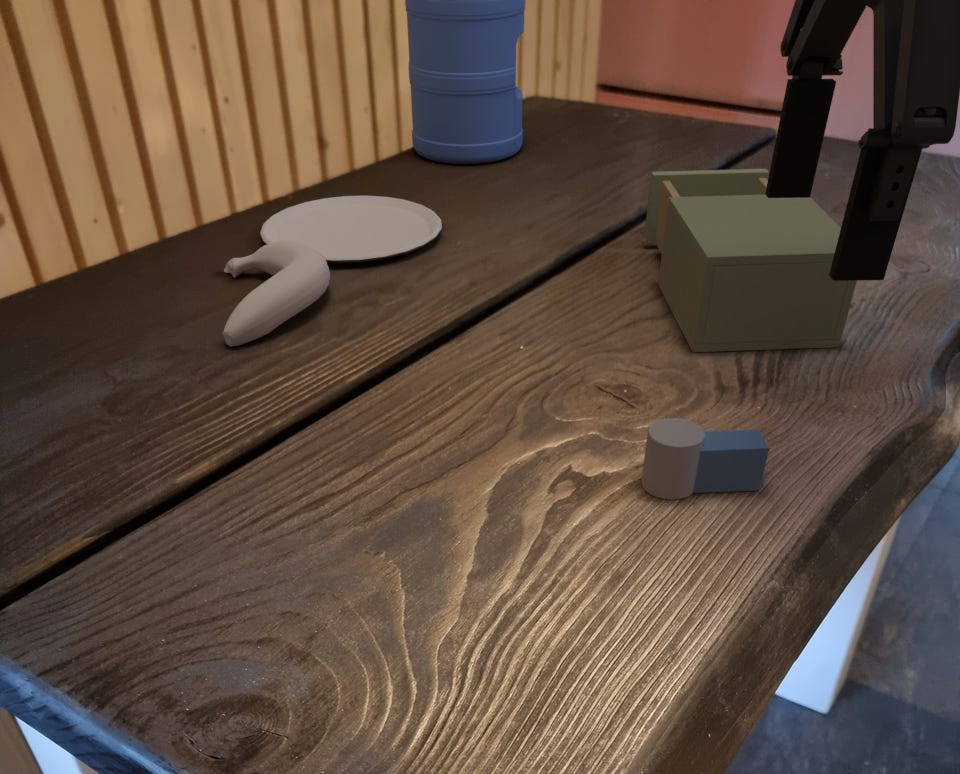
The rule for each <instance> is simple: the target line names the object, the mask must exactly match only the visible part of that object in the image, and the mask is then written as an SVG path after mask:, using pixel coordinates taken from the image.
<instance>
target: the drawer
mask: <svg viewBox="0 0 960 774" xmlns="http://www.w3.org/2000/svg"><path fill="white" fill-rule="evenodd" d="M769 172H770V171H768V169H767V168H739V169H738V168H737V169H736V168H735V169H705V170H702V169H701V170H670V171H669V170H667V171H665V170H664V171H651V172H650V180H649V189H648V198H647V199H648V200H647V210H646V217H645V227H644V235H643V238H644V240H645V242H655V245H656V246H657V248H658V250H659V251H660V253H661V254H662V249H663V241H664V233H665V225H666V217H667V209H668V201H669V197H695V196H730V195H764V194H765V193H766V188H767V183H768V178H769Z"/></svg>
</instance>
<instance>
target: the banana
mask: <svg viewBox="0 0 960 774" xmlns="http://www.w3.org/2000/svg"><path fill="white" fill-rule="evenodd" d="M254 269H257V270H260V271H263V272H264V273H267V274H269V275H271V277H270V278H268V279H266V280H265V281H263V282H262V283H261V284H260V285H258V286H257V287H255V288H254V289H253V290H252V291H250V292H249V293H248V294H247V295H246V296H245V297H244V298H243V299H241V300H240V302H239V303H238V304H237V306H236V307H235V308H234V309H233V310H232V312H231V314H230V315H229V317H228V318H227V321H226V323H225V326H224V329H223V331H222V332H221V333H222V336H223V340H224V342H225V344H226V345H227V346H229V347H230V348H231V347H238V346H242V345H244V344H247V343H250V342H252V341H254V340H257V339H260V338H262V337H264V336H266V335H268V334H270V333H271V332H272V331H274V330H275V329H277V328H278V327H280V326H281V325H282V324H284V323H285V322H287V320H289V319H291V318H293V317H294V316H296V315H298V314H299V313H300V312H302V311H303V310H305V309H307V308H308V307H309V306H311V305H312V304H314V303H315V302H316V301H317V300H318V299H320V298H321V297H322V296H323V295H324V293H326V290H327V289H328V287H329V285H330V280H331V271H330V268H329V265H328V262H326V260H325V258H324V257H323V256H322V255H321V253H319V252H318V251H317V250H315V249H313V248H311V247H309V246H307V245H304V244H302V243H298V242H294V241H277V242H273V243H270V244H267V245H266V244H265V245H263V246H261V247H260V248H259V249H257V250H256V251H254V252H253V253H252V254H250V255H246V256H242V257H233V258H230V259H229V260H228V261H227V262H226V264H225V266H224V269H223V272H224V273H225V274H231V275H232V277H233V279H236V277H237V276H239V275H241V273H244V272H246V271H249V270H254Z"/></svg>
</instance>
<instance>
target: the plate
mask: <svg viewBox="0 0 960 774" xmlns="http://www.w3.org/2000/svg"><path fill="white" fill-rule="evenodd" d="M442 225H443V224H442V218H440V217H439V216H438V215H437V213H436V212H435V211H434V210H433V209H430V208H429V207H426V206H425V205H423V204H421V203H417V202H414V201H411V200H407V199H402V198H397V197H390V196H377V195H342V196H333V197H324V198H320V199H314V200H310V201H304V202H301V203H299V204H295V205H292V206H289V207H286V208H284V209H282V210H280V211H278V212H277V213H275V214H273V215H271V216H270V217H269V218H268V219H267V220H265V222H263V224H262V226H261V229H260V232H259V234H260V237H261V240H262V242H263V244H265V245H267V244H270V243H273V242H277V241H294V242H298V243H302V244H304V245H307V246H309V247H311V248H313V249H315V250H317V251H318V252H319V253H321V255H322V256H323V257H324V258H325V260H326V262H327V264H328V263H330V264H345V263H346V264H347V263H348V264H349V263H353V264H354V263H365V262H373V261H374V262H375V261H381V260H388V259H392V258H395V257H400V256H403V255H407V254H410V253H412V252H414V251H417V250H419V249H423V248H424V247H426V246H427V245H429V244H430V243H431V242H433V241H435V240H436V239H437V237H438V236H439V234H440V233H441V231H442V230H443V226H442Z"/></svg>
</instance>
